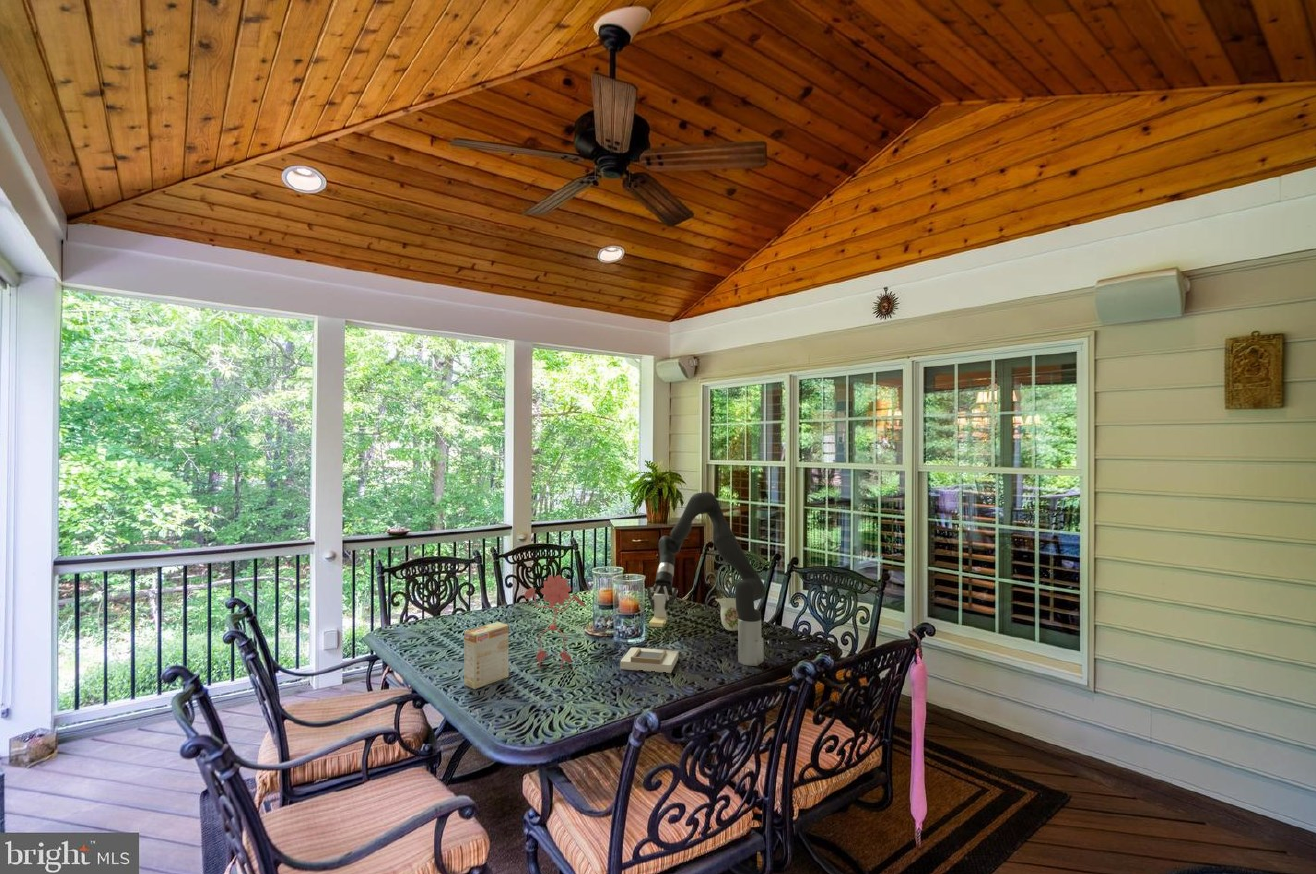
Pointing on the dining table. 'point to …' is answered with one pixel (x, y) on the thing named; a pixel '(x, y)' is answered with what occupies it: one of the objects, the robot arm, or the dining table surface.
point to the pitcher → (729, 613)
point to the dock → (649, 659)
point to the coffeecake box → (486, 655)
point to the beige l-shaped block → (659, 612)
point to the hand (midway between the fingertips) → (659, 609)
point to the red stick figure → (554, 593)
